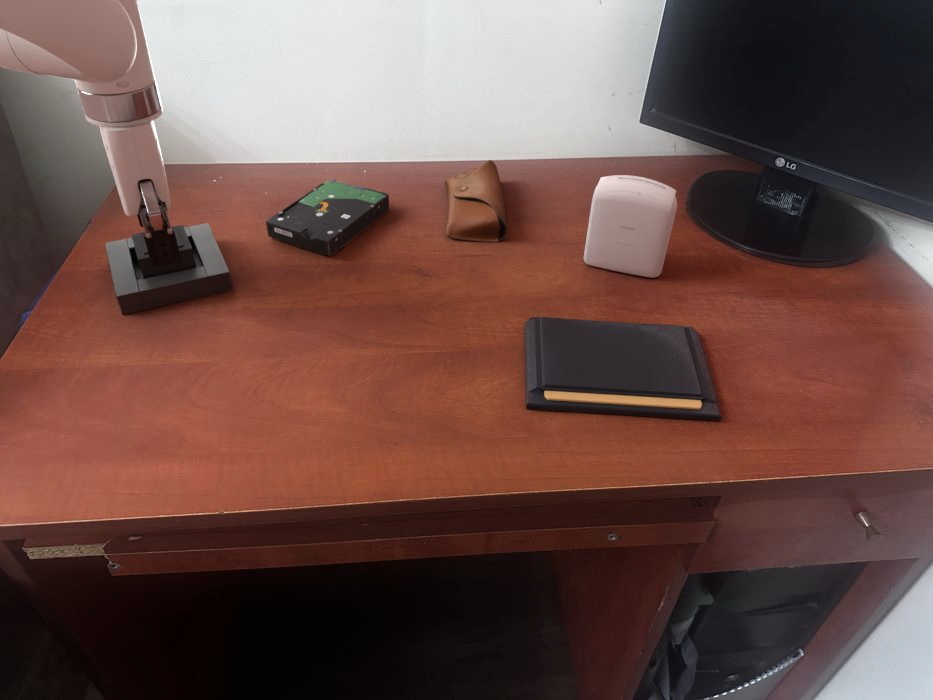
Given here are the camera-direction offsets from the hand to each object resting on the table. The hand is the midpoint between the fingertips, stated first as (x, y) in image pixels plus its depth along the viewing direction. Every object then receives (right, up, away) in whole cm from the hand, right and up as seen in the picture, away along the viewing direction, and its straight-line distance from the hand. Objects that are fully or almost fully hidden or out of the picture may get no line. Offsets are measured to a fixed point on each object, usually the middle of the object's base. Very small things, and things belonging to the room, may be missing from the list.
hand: (160, 243), depth 84 cm
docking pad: (0, -3, +3) cm, 5 cm away
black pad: (0, -3, +3) cm, 4 cm away
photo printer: (+57, -2, +8) cm, 57 cm away
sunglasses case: (+37, +8, +19) cm, 42 cm away
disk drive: (+18, +5, +14) cm, 23 cm away
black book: (+53, -15, -7) cm, 55 cm away
